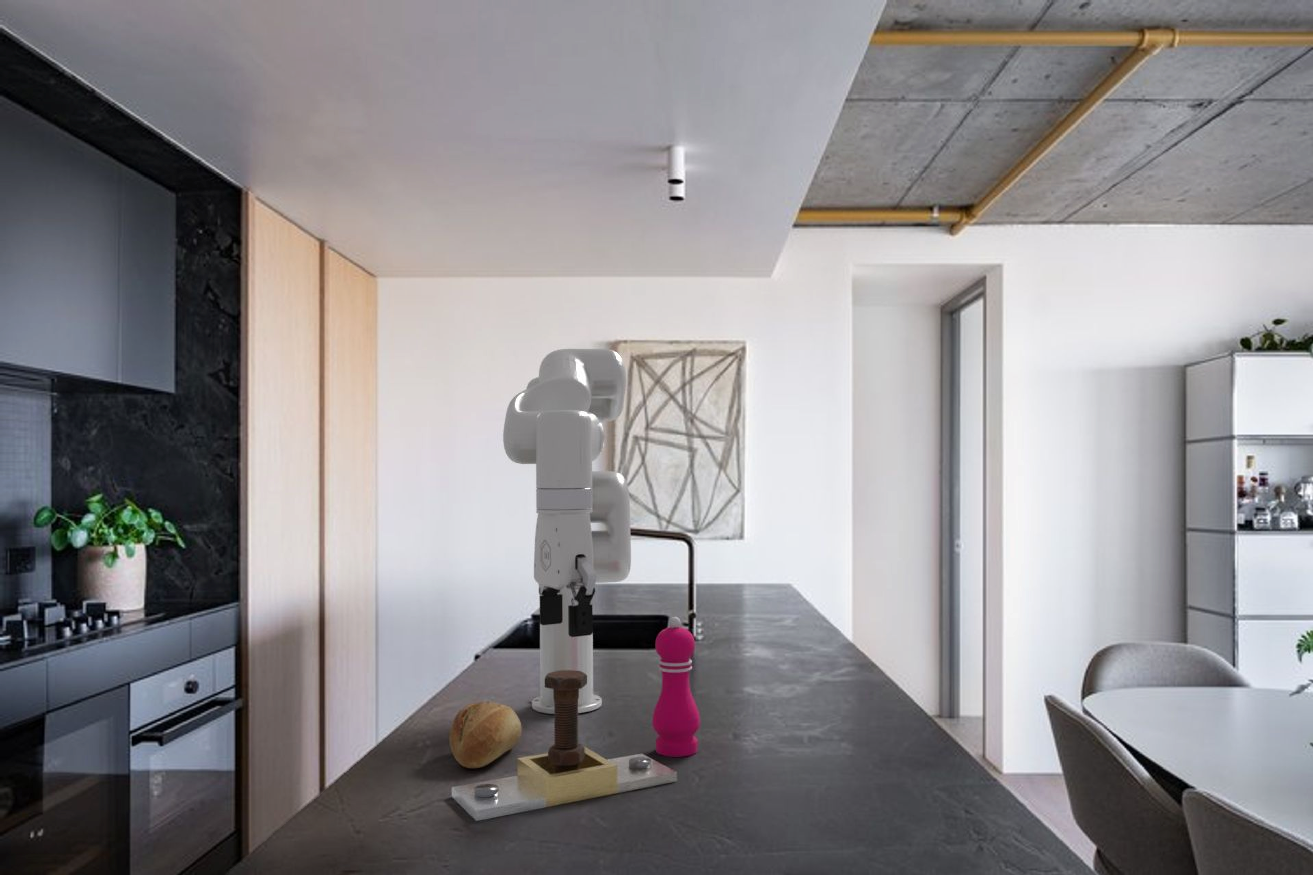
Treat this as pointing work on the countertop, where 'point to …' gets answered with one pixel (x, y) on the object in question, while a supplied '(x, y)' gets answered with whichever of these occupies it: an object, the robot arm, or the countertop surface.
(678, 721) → the pepper mill
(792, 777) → the countertop surface
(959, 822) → the countertop surface
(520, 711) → the countertop surface
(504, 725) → the bread roll
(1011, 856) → the countertop surface
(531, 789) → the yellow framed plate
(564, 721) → the bolt
